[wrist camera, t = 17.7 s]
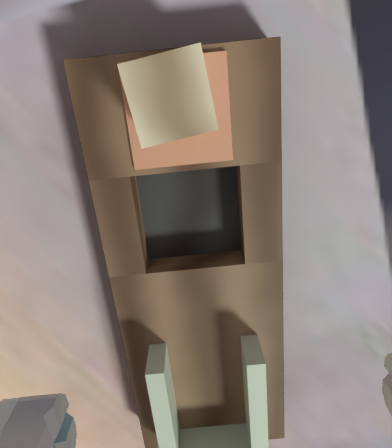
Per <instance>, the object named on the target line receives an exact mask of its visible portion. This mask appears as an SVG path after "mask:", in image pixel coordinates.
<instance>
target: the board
mask: <svg viewBox="0 0 392 448" xmlns="http://www.w3.org/2000/svg"><path fill="white" fill-rule="evenodd" d="M201 47H202V51H203V53H209V52H218V51H227V66H228V83H229V99H230V116H231V133H232V149H233V160H229V161H219V162H209V163H199V164H190V165H180V166H170V167H160V168H150V169H140V170H135V168H134V162H133V156H132V150H131V143H130V137H129V131H128V125H127V119H126V113H125V107H124V100H123V94H122V88H121V82H120V76H119V70H118V66H117V64H118V63H117V62H124V61H132V60H136V59H139V58H143V57H147V56H151V55H155V54H158V53H162V52H166V51H170V50H174V49H177V48H168V49H159V50H150V51H140V52H131V53H122V54H112V55H103V56H93V57H84V58H75V59H65V60H63V63H64V68H65V73H66V77H67V82H68V87H69V91H70V96H71V101H72V105H73V110H74V115H75V120H76V124H77V129H78V134H79V138H80V143H81V148H82V152H83V157H84V162H85V167H86V171H87V176H88V181H89V185H90V190H91V195H92V199H93V204H94V209H95V213H96V218H97V223H98V228H99V232H100V237H101V242H102V246H103V251H104V256H105V260H106V265H107V270H108V275H109V279H110V284H111V289H112V293H113V298H114V303H115V307H116V312H117V317H118V321H119V326H120V331H121V336H122V340H123V345H124V350H125V354H126V359H127V364H128V368H129V373H130V378H131V383H132V387H133V392H134V397H135V401H136V406H137V411H138V415H139V420H140V425H141V430H142V434H143V439H144V444H145V448H159V446H158V441H157V435H156V430H155V425H154V420H153V415H152V409H151V404H150V399H149V394H148V389H147V384H146V378H145V370H146V364H147V357H148V351H149V345H151V344H161V343H166V344H167V350H168V356H169V363H170V369H171V375H172V382H173V388H174V394H175V401H176V407H177V413H178V420H179V426H180V429H188V428H199V427H210V426H221V425H232V424H243V423H246V416H245V400H244V384H243V369H242V353H241V337H240V336H247V335H257V334H258V338H259V341H260V345H261V348H262V352H263V356H264V359H265V363H266V384H267V414H268V439H278V438H284V349H283V249H282V148H281V48H280V37H272V38H262V39H253V40H243V41H234V42H225V43H215V44H206V45H201ZM178 48H181V47H178Z"/></svg>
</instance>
